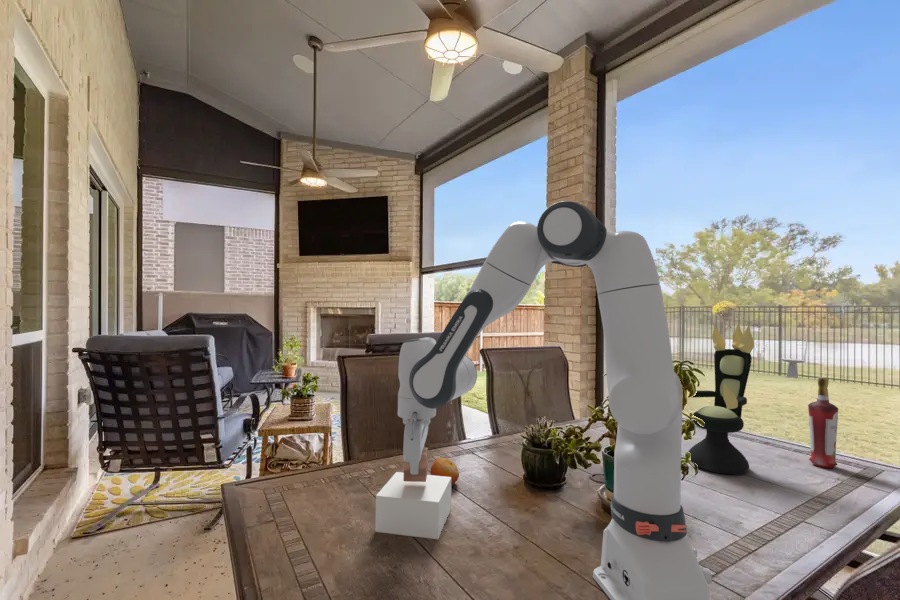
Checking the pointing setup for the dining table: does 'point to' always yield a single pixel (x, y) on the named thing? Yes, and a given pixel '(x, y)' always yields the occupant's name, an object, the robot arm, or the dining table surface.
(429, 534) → the cream box
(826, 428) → the liquor
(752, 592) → the dining table surface
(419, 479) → the terracotta block
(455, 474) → the fruit
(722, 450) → the crowned throne chair
